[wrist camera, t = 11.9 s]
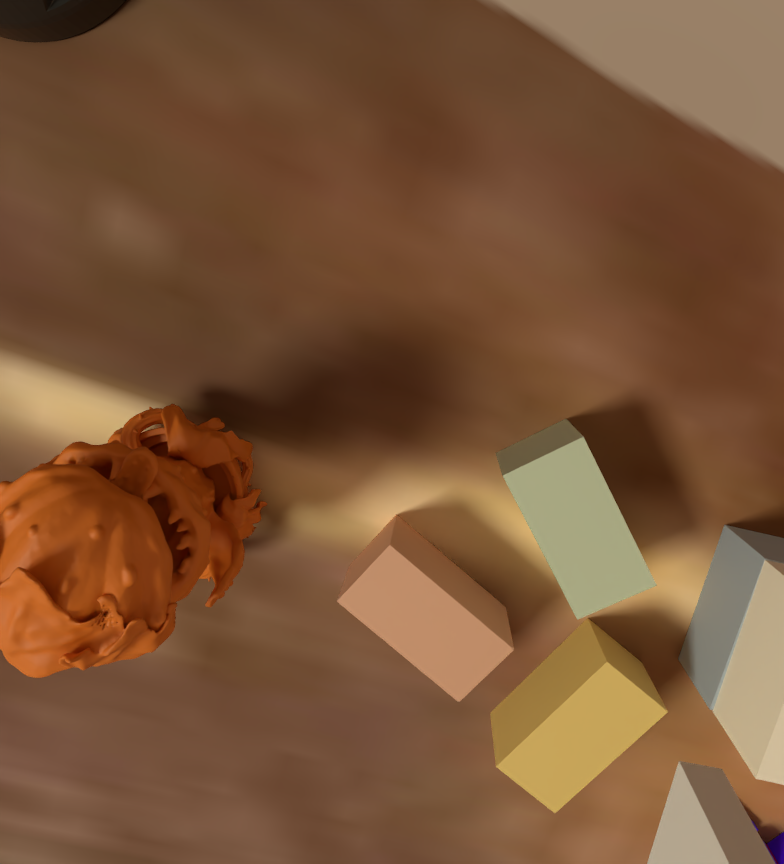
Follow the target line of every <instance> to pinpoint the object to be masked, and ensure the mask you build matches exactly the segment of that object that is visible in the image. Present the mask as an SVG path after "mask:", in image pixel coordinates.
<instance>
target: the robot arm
mask: <svg viewBox="0 0 784 864" xmlns="http://www.w3.org/2000/svg"><path fill="white" fill-rule="evenodd" d="M125 1H126V0H0V36H1V37H4V38H8V39H12V40H17V41H24V42H49V41H56V40H61V39H66V38H69V37H72V36H75V35H78V34H80V33H83V32H85V31H87V30H89V29H91V28H93V27H94V26H96V25H98V24H99V23H101V22H102V21H104V20H105V19H106V18H108V17H109V16H110V15H111V14H112V13H114V12H115V11H116V10H117V9H118V8H119V7H120V6H121V5H122V4H123V3H124V2H125ZM647 864H775V862H774V860H773V858H772V857H771V855H770V853H769V851H768V849H767V848H766V846H765V844H764V842H763V841H762V839H761V837H760V835H759V834H758V832H757V830H756V828H755V827H754V825H753V823H752V821H751V819H750V818H749V816H748V814H747V812H746V811H745V809H744V807H743V805H742V804H741V802H740V800H739V798H738V796H737V795H736V793H735V791H734V789H733V788H732V786H731V784H730V782H729V781H728V779H727V777H726V775H725V774H724V772H723V770H722V769H720V768H714V767H709V766H703V765H698V764H692V763H687V762H682V761H679V763H678V766H677V770H676V773H675V776H674V779H673V782H672V786H671V789H670V792H669V795H668V798H667V802H666V805H665V808H664V811H663V814H662V818H661V821H660V824H659V827H658V831H657V834H656V837H655V840H654V843H653V847H652V850H651V853H650V856H649V859H648V863H647Z"/></svg>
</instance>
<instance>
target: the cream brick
mask: <svg viewBox="0 0 784 864" xmlns="http://www.w3.org/2000/svg"><path fill="white" fill-rule="evenodd" d="M713 713H714V714H715V716H716V717H717V719H718V720H719V722H720V723H721V725H722V727H723V728H724V730H725V731H726V733H727V734H728V736H729V738H730V739H731V741H732V742H733V744H734V745H735V747H736V749H737V750H738V752H739V753H740V755H741V756H742V758H743V760H744V761H745V763H746V764H747V766H748V767H749V769H750V771H751V772H752V774H753V775H754V777H755V778H756V779H760V780H764V781H769V782H773V783H778V784H782V785H784V564H783V563H778V562H773V561H768V560H765V561H764V564H763V567H762V570H761V573H760V575H759V578H758V581H757V584H756V587H755V590H754V593H753V596H752V599H751V601H750V604H749V607H748V610H747V613H746V616H745V619H744V622H743V625H742V628H741V630H740V633H739V636H738V639H737V642H736V645H735V648H734V651H733V654H732V657H731V659H730V662H729V665H728V668H727V671H726V674H725V677H724V680H723V683H722V686H721V688H720V691H719V694H718V697H717V700H716V703H715V706H714V709H713Z"/></svg>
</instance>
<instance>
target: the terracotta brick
mask: <svg viewBox="0 0 784 864" xmlns="http://www.w3.org/2000/svg"><path fill="white" fill-rule="evenodd" d="M337 602H338V603H339V604H341V605H342V606H343V607H344V608H345V609H347V610H348V611H349V612H350V613H351V614H353V615H354V616H355V617H356V618H358V619H359V620H360V621H361V622H362V623H364V624H365V625H366V626H367V627H368V628H370V629H371V630H372V631H373V632H374V633H376V634H377V635H378V636H379V637H381V638H382V639H383V640H384V641H385V642H387V643H388V644H389V645H390V646H391V647H393V648H394V649H395V650H396V651H397V652H399V653H400V654H401V655H402V656H403V657H405V658H406V659H407V660H408V661H410V662H411V663H412V664H413V665H414V666H416V667H417V668H418V669H419V670H420V671H422V672H423V673H424V674H425V675H426V676H428V677H429V678H430V679H431V680H433V681H434V682H435V683H436V684H437V685H439V686H440V687H441V688H442V689H443V690H445V691H446V692H447V693H448V694H449V695H451V696H452V697H453V698H454V699H455V700H457V701H458V702H460V701H461V700H462V699H463V698H464V697H465V696H466V695H467V694H468V693H469V692H470V691H471V690H472V689H473V688H474V687H475V686H476V685H477V684H478V683H479V682H481V681H482V680H483V679H484V678H485V677H486V676H487V675H488V674H489V673H490V672H491V671H492V670H493V669H494V668H495V667H496V666H497V665H498V664H499V663H500V662H502V661H503V660H504V659H505V658H506V657H507V656H508V655H509V654H510V653H511V652H512V651H513V650H514V647H513V642H512V636H511V631H510V626H509V620H508V615H507V610H506V607H505V606H504V605H503V604H501V603H500V602H499V601H498V600H497V599H496V598H494V597H493V596H492V595H491V594H490V593H488V592H487V591H486V590H485V589H484V588H483V587H481V586H480V585H479V584H478V583H477V582H476V581H474V580H473V579H472V578H471V577H470V576H468V575H467V574H466V573H465V572H464V571H463V570H461V569H460V568H459V567H458V566H457V565H456V564H454V563H453V562H452V561H451V560H450V559H448V558H447V557H446V556H445V555H444V554H443V553H441V552H440V551H439V550H438V549H437V548H435V547H434V546H433V545H432V544H431V543H430V542H428V541H427V540H426V539H425V538H424V537H423V536H421V535H420V534H419V533H418V532H417V531H415V530H414V529H413V528H412V527H411V526H410V525H408V524H407V523H406V522H405V521H404V520H403V519H401V518H400V517H399V516H398V515H396V516H395V517H394V518H393V519H392V520H391V521H390V522H389V523H388V524H387V525H386V526H385V527H384V529H383V530H382V531H381V532H380V533H379V534H378V535H377V536H376V537H375V538H374V539H373V540H372V541H371V543H370V544H369V545H368V546H367V547H366V548H365V549H364V550H363V551H362V552H361V553H360V554H359V556H358V557H357V558H356V559H355V560H354V561H353V562H352V563H351V564H350V565H349V568H348V571H347V574H346V577H345V580H344V582H343V585H342V588H341V591H340V594H339V596H338V599H337Z"/></svg>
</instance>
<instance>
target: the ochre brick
mask: <svg viewBox="0 0 784 864" xmlns="http://www.w3.org/2000/svg"><path fill="white" fill-rule="evenodd" d="M667 712H668V711H667V709H666V707H665V705H664V703H663V701H662V699H661V698H660V696H659V694H658V692H657V690H656V688H655V686H654V684H653V683H652V681H651V679H650V677H649V675H648V673H647V671H646V669H645V668H644V666H643V664H642V662H641V661H639V660H638V659H637V658H636V657H635V656H633V655H632V654H631V653H630V652H628V651H627V650H626V649H625V648H624V647H622V646H621V645H620V644H619V643H618V642H616V641H615V640H614V639H613V638H611V637H610V636H609V635H608V634H607V633H605V632H604V631H603V630H602V629H601V628H599V627H598V626H597V625H596V624H594V623H593V622H592V621H591V620H590V619H588V618H587V619H586V620H585V621H584V622H583V623H582V624H581V625H580V626H579V627H578V628H577V629H576V630H575V631H574V632H573V633H572V634H571V635H570V636H569V637H568V638H567V639H566V640H565V641H564V642H563V643H562V644H561V645H560V646H559V647H558V648H556V649H555V650H554V651H553V652H552V653H551V654H550V655H549V656H548V657H547V658H546V659H545V660H544V661H543V662H542V663H541V664H540V665H539V666H538V667H537V668H536V669H535V670H534V671H533V672H532V673H531V674H530V675H529V676H528V677H527V678H526V679H525V680H524V681H523V682H522V683H521V684H520V685H519V686H518V687H516V688H515V689H514V690H513V691H512V692H511V693H510V694H509V695H508V696H507V697H506V698H505V699H504V700H503V701H502V702H501V703H500V704H499V705H498V706H497V707H496V708H495V709H494V710H493V711H492V712H491V713H490V715H491V724H492V734H493V743H494V752H495V762H496V767H497V768H498V769H500V770H501V771H502V772H503V773H505V774H506V775H507V776H508V777H510V778H511V779H512V780H514V781H515V782H516V783H517V784H519V785H520V786H521V787H522V788H524V789H525V790H526V791H527V792H529V793H530V794H531V795H532V796H534V797H535V798H536V799H538V800H539V801H540V802H541V803H543V804H544V805H545V806H546V807H548V808H549V809H550V810H551V811H553V812H554V813H556V812H557V811H558V810H559V809H560V808H561V807H563V806H564V805H565V804H566V803H567V802H568V801H569V800H570V799H572V798H573V797H574V796H575V795H576V794H577V793H578V792H579V791H580V790H582V789H583V788H584V787H585V786H586V785H587V784H588V783H589V782H590V781H592V780H593V779H594V778H595V777H596V776H597V775H598V774H599V773H600V772H602V771H603V770H604V769H605V768H606V767H607V766H608V765H609V764H610V763H612V762H613V761H614V760H615V759H616V758H617V757H618V756H619V755H621V754H622V753H623V752H624V751H625V750H626V749H627V748H628V747H629V746H631V745H632V744H633V743H634V742H635V741H636V740H637V739H638V738H639V737H641V736H642V735H643V734H644V733H645V732H646V731H647V730H648V729H649V728H651V727H652V726H653V725H654V724H655V723H656V722H657V721H658V720H659V719H661V718H662V717H663V716H664V715H665V714H666V713H667Z"/></svg>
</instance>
